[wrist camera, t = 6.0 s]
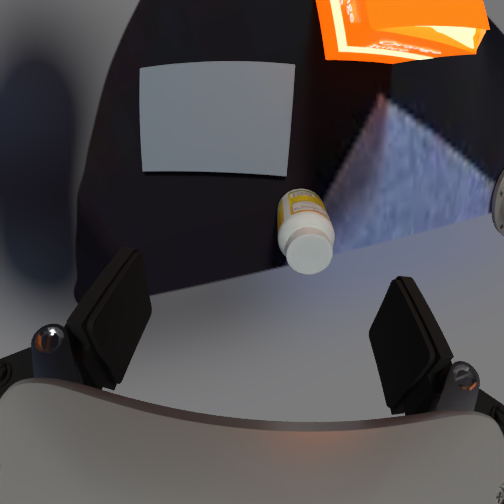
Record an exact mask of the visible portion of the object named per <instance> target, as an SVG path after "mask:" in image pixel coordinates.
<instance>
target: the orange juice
mask: <svg viewBox="0 0 504 504" xmlns="http://www.w3.org/2000/svg"><path fill="white" fill-rule="evenodd" d="M316 4H317V9H318V14H319V20H320V25H321V32H322V38H323V44H324V51H325V59H326V60H353V61H369V62H380V63H389V64H394V63H400V62H406V61H412V60H422V59H430V58H433V57H442V56H452V55H466V54H476V50H477V48H478V46H479V44H480V42H481V40H482V38H483V36H484V34H485V32H486V30H490V28H489V23H488V19H487V15H486V11H485V7H484V3H483V0H316Z"/></svg>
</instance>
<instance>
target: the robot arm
mask: <svg viewBox="0 0 504 504" xmlns="http://www.w3.org/2000/svg"><path fill="white" fill-rule="evenodd" d="M492 219H493V223H494V225H495V228H496V229H497V231H499V233H501V234H502V235H503V236H504V170H503V171H502V173H501V175H500V177H499V179H498V181H497V183H496V186H495V190H494V193H493V199H492ZM151 311H152V308H151V302H150V297H149V291H148V286H147V280H146V274H145V268H144V262H143V256H142V254H141V253H139V252H138V250H137V249H132V248H121V249H120V251H119V252H118V253H117V254H116V256H115V257H114V258H113V259H112V260H111V262H110V263H109V264H108V265H107V267H106V268H105V269H104V271H103V272H102V273H101V274H100V276H99V277H98V278H97V280H96V281H95V282H94V284H93V285H92V286H91V288H90V289H89V290H88V292H87V293H86V294H85V296H84V297H83V298H82V300H81V301H80V303H79V304H78V305H77V307H76V308H75V310H74V311H73V312H72V314H71V315H70V317H69V318H68V320H67V323H66V325H65V326H64V327H63V326H61V325H59V324H48V325H45V326H43V327H41V328H40V329H39V330H37V332H36V333H35V334H34V336H33V338H32V341H31V347H30V348H27V349H25V350H22V351H19V352H17V353H14V354H12V355H9V356H7V357H4V358H2V359H0V504H504V405H503V404H501V403H500V402H498V401H497V400H495V399H494V398H492V397H491V396H489V395H488V394H487V393H485V392H484V391H482V390H481V389H479V386H480V379H479V375H478V373H477V372H476V370H475V369H474V368H473V367H472V366H471V365H470V364H468V363H466V362H464V361H457V362H455V363H453V364H452V362H451V359H452V358H453V357H454V356H453V354H452V352H451V350H450V348H449V346H448V343H447V341H446V339H445V337H444V335H443V333H442V331H441V329H440V327H439V325H438V323H437V321H436V320H435V317H434V316H433V314H432V312H431V310H430V308H429V306H428V305H427V303H426V301H425V299H424V297H423V295H422V294H421V292H420V290H419V288H418V287H417V285H416V283H415V282H414V280H413V279H412V278H411V277H403V276H398V277H397V278H396V279H394V280H392V282H391V284H390V286H389V289H388V291H387V293H386V295H385V298H384V300H383V302H382V305H381V307H380V309H379V311H378V313H377V315H376V318H375V319H374V322H373V324H372V326H371V328H370V331H369V338H370V342H371V346H372V349H373V353H374V356H375V360H376V364H377V367H378V371H379V375H380V379H381V383H382V387H383V392H384V396H385V400H386V404H387V406H388V407H389V408H390V409H391V414H392V415H394V414H401V413H404V412H405V416H399V417H391V418H382V419H372V420H360V421H343V422H282V421H264V420H251V419H241V418H232V417H224V416H216V415H208V414H203V413H196V412H190V411H185V410H180V409H175V408H170V407H165V406H161V405H156V404H152V403H148V402H144V401H140V400H136V399H132V398H128V397H124V396H120V395H117V394H113V393H110V392H107V391H103V390H102V387H105V388H108V389H111V390H114V389H115V387H116V384H117V383H118V384H120V383H121V382H122V380H123V377H124V375H125V372H126V370H127V368H128V365H129V363H130V361H131V358H132V356H133V354H134V352H135V349H136V347H137V345H138V342H139V340H140V338H141V336H142V333H143V331H144V329H145V327H146V324H147V323H148V321H149V318H150V316H151Z"/></svg>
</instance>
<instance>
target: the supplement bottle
mask: <svg viewBox="0 0 504 504" xmlns="http://www.w3.org/2000/svg"><path fill="white" fill-rule="evenodd" d="M277 222H278V244H279V247H280V249H281V251H282V253H283V254H284V255H285V256H286V259H287V262H288V264H289V266H290V267H291V268H292V269H293V270H295V271H296V272H299V273H301V274H315V273H318V272H321V271H322V270H324V269H325V268H326V267H327V266H328V265H329V263H330V262H331V260H332V256H333V249H332V247H333V244H334V240H335V234H334V229H333V226H332V224H331V221H330V219H329V216H328V214H327V212H326V209H325V207H324V204H323V202H322V200H321V199H320V197H319V196H318V195H317V194H316V193H314V192H312V191H310V190H307V189H295V190H292V191H290V192H288V193H287V194H285V195H284V196H283V197H282V199H281V200H280V202H279V205H278V210H277Z"/></svg>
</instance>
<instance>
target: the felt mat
mask: <svg viewBox="0 0 504 504" xmlns="http://www.w3.org/2000/svg"><path fill="white" fill-rule="evenodd" d="M294 73H295V65H293V64H282V63H269V62H245V61H217V62H194V63H180V64H169V65H160V66H152V67H145V68H140V134H141V153H142V168H143V171H199V172H229V173H248V174H264V175H277V176H286V175H287V164H288V152H289V141H290V129H291V116H292V102H293V88H294Z"/></svg>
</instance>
